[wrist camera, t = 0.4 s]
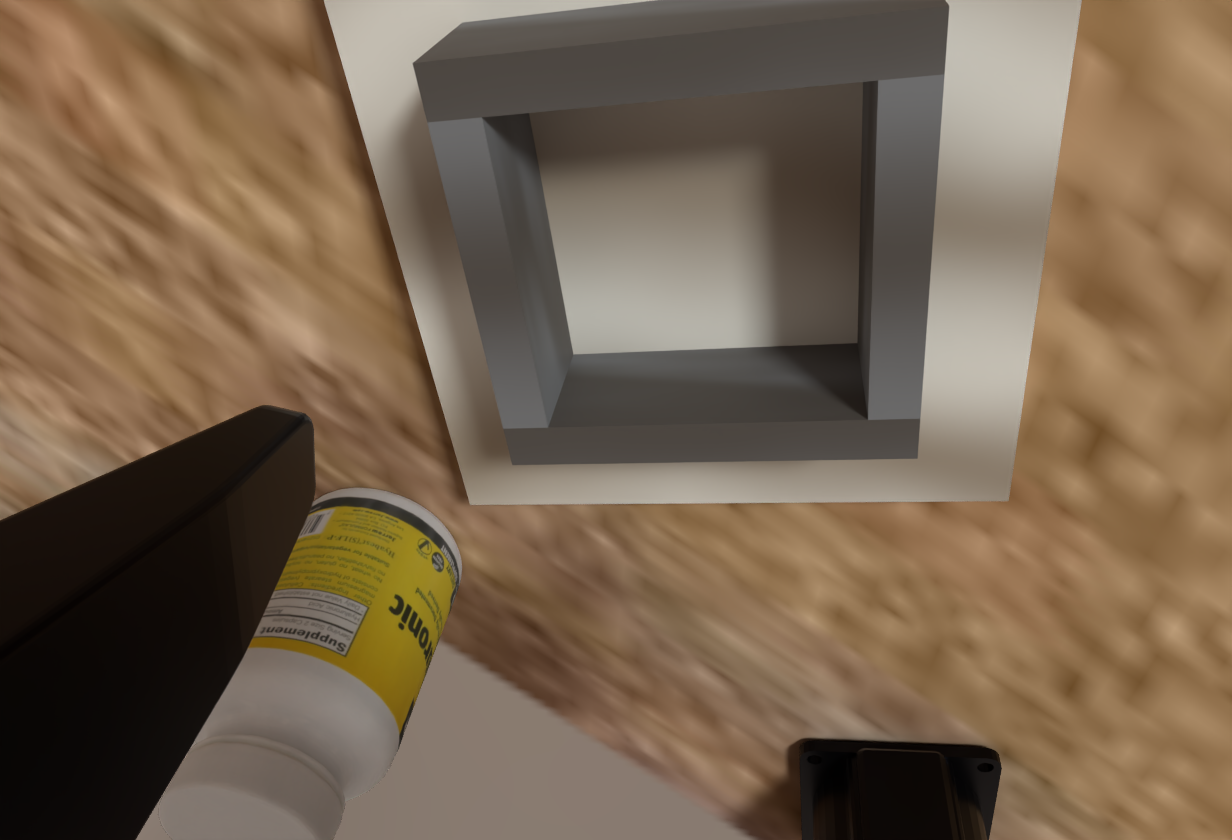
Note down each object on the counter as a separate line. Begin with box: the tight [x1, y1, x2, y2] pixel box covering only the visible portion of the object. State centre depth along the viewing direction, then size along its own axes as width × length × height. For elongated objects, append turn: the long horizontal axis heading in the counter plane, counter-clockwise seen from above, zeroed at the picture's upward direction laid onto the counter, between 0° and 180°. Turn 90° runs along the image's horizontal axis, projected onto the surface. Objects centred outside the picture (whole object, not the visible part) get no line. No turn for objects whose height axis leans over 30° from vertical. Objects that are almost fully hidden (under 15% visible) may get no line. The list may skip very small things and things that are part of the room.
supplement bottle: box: [158, 488, 462, 840], centre depth 25 cm, size 5×5×10 cm
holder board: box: [324, 0, 1082, 505], centre depth 19 cm, size 16×14×4 cm
